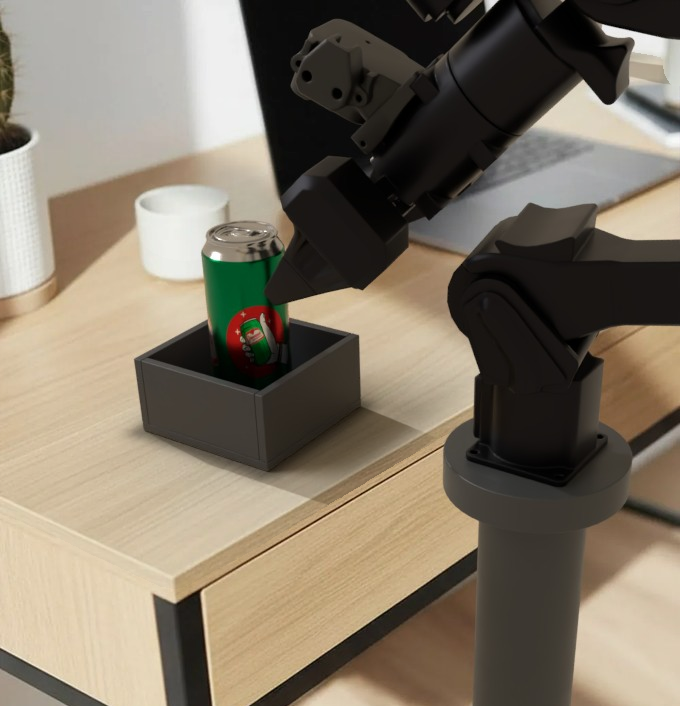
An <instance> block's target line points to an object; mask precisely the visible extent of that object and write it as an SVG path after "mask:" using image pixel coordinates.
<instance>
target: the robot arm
mask: <svg viewBox="0 0 680 706" xmlns="http://www.w3.org/2000/svg"><path fill="white" fill-rule="evenodd" d="M405 1H406V2H407V3H408V4H409V6H410V7H411V8H412V9H413V10H414V11H415V12H416V14H417V15H418V16H419V17H420V19H421V20H422V21H423V22H424V23H426V22H429V21H430V20H433V21H434V22H435V23H436V22H438V21H439V20H440V19H441V18H442V17H443V16H444V15H445V14H447V15H446V17H447V18H448V19H449V20H450V21H451V22H452V24H453V25H456V24H458V23H459V22H460V21H462V20H463V19H464V18H465V17H467V16H468V15H469V14H470V13H471V12H472V11H473V10H474V9H475V8H476V7H477V6H478V5H480V3H482V2H483V0H405ZM596 22H597V23H600V24H602V26H603V25H604V26H607V27H612V28H615V29H620V30H625V31H628V32H635V33H638V34H642V35H648V36H653V37H656V38H661V39H665V40H676V41H680V0H564V1H563V2H562V1H561V0H497V1H496V2H495V3H494V4H493V5H492V6H491V7H490V8H489V9H488V10H487V11H486V12H485V13H484V14H483V15H482V16H481V17H480V19H479V20H478V21H477V22H476V23H474V24H473V26H471V27H470V29H469V30H468V31H467V32H466V33H465V34H464V35H462V36H461V38H460V39H459V40H458V41H457V42H456V43H455V44H454V45H453V46H452V47H451V48H450V49H449V50H448V51H447V52H446V53H445V54H444V53H441V54H440V55H438V56H437V57H436V58H435V59H434V60H432V61H431V63H430V64H429V65H428V66H426V67H424V66H422V65H421V64H419V63H418V62H417V61H414V60H413V59H411V58H409V57H408V55H407V54H406V53H405V52H403V51H401V50H400V49H398V48H397V47H394V46H393V45H392V44H389V43H388V42H387V41H385V40H383V39H381V38H380V37H377V36H375V35H374V34H372V33H371V32H369V31H367V30H365V29H363V27H362V28H361V27H360V26H358V25H356V24H355V23H353V22H350V21H348V20H345V19H341V18H334V19H331V20H329V21H327V22H325V23H323V24H321V25H319V26H317V27H315V28H312V29H311V30H310V32H309V34H308V37H307V39H305V41H304V44H303V46H302V48H301V49H300V51H299V52H298V53H296V54H294V55H293V56H292V57H290V61H289V62H290V63H289V64H290V68H291V69H292V71H293V72H294V74H293V77H292V80H291V83H290V89H291V90H292V92H293V93H294V94H295V95H296V96H298V97H300V98H302V99H303V100H306V101H313V102H314V103H316V104H317V105H319V106H321V107H323V108H325V109H326V110H328V111H329V112H331V113H335V114H336V115H338V116H339V117H341V118H343V119H345V120H347V121H349V122H351V123H353V124H356V125H359V126H360V127H359V128H357V130H356V131H355V132H354V133H353V134H352V135H351V136H350V139H351V140H352V141H353V142H354V143H355V144H356V145H357V147H358V148H359V149H360V150H361V151H362V152H363V153H364V154H365V155H370V156H372V157H371V158H370V159H369V160H370V161H369V162H370V163H371V166H372V171H371V173H370V174H369V175H367V173H365V171H364V170H363V169H362V168H361V167H360V166H359V164H358V163H357V162H356V161H355V159H353V157H345V156H334V155H327V156H326V157H325V158H323V159H322V160H321V161H319V162H318V163H316V164H314V165H313V166H311V168H309V169H307V170H306V171H305V172H304V173H302V174H301V175H300V176H299V177H298V178H297V179H296V180H295V181H294V182H293V183H292V185H290V187H288V188H287V190H286V191H285V192H284V193H283V194H282V195H281V196H280V197H279V200H280V206H281V209H282V211H283V212H284V213H285V215H286V217H287V218H288V220H289V221H290V222H291V224H292V225H293V234H292V237H291V239H290V241H289V243H288V245H287V247H286V248H285V253H284V254H283V256H282V258H281V260H280V262H279V263H278V265H277V267H276V269H275V271H274V272H273V274H272V276H271V278H270V280H269V282H268V283H267V285H266V287H265V289H264V291H263V292H264V295H265V296H266V297H267V298H268V299H269V301H270V302H271V303H272V304H273V305H275V306H278V305H282V304H286V303H288V304H289V303H292V302H296V301H300V300H304V299H308V298H312V297H315V296H320V295H324V294H328V293H332V292H337V291H340V290H341V291H342V290H346V289H351V288H352V289H354V290H359V291H364V290H365V289H366V288H367V287H368V286H369V285H371V284H372V283H373V282H374V281H375V280H376V279H378V277H379V276H380V275H382V274H383V273H384V272H385V271H386V270H387V269H388V268H389V267H390V266H391V265H392V264H393V263H394V262H396V260H397V259H398V258H399V257H401V255H403V253H404V252H405V251H406V250H407V249H409V247H410V246H409V245H410V223H413V222H416V221H419V220H421V219H424V218H426V219H427V221H428V222H430V221H431V220H432V219H433V218H434V217H435V216H436V215H438V213H440V212H441V211H443V210H444V209H445V207H447V206H448V205H449V204H450V203H451V202H452V201H455V200H457V199H458V198H460V197H461V195H462V194H463V193H465V191H466V190H468V189H469V187H471V186H472V185H473V184H474V183H475V182H476V181H477V180H478V179H479V178H480V177H481V176H482V175H483V174H484V173H485V172H486V171H487V170H488V168H489V167H490V166H492V164H493V163H495V162H496V161H497V160H498V159H499V158H500V157H501V156H502V155H503V154H504V153H505V152H506V151H507V150H508V149H509V148H510V147H511V146H512V145H513V144H515V142H517V140H519V139H520V138H521V137H522V136H523V135H525V133H526V132H528V131H529V129H531V128H532V127H533V126H535V124H536V123H538V122H539V120H541V119H542V118H543V117H544V116H545V115H546V114H547V113H548V112H550V110H551V109H553V108H554V107H555V106H556V105H557V104H558V103H559V102H560V101H562V100H563V99H564V97H566V96H567V95H568V94H569V93H570V92H571V91H572V90H574V89H575V88H576V87H577V86H578V85H579V84H580V83H581V82H582V81H584V83H585V84H586V85H587V86H588V87H589V88H590V90H591V91H592V92H593V93H594V94H595V96H596V97H597V98H598V99H599V100H600V102H601V103H602V104H603V105H606V106H611V105H613V104H615V103H616V101H617V100H618V99H619V98H620V97H621V96H622V94H623V93H624V92H625V91H626V90H627V89H628V87H629V86H630V59H631V54H632V52H633V49H634V47H635V44H636V42H635V39H634V38H633V37H631V36H628V37H627V36H626V37H617V36H612V35H608V34H606V32H605V31H604V30H603V29H601V28H600V27H599V25H598V24H597V23H596ZM598 209H599V206H598V204H596V203H592V202H591V203H581V204H576V205H571V206H566V207H558V208H554V207H545V206H542V205H540V204H536V203H534V202H527V204H526V205H525V206H524V207H523V208H522V210H521V211H520V212H519V213H518V214H517V215H512V216H508V217H506V218H504V219H503V220H500V221H498V223H496V224H495V225H494V226H493V227H492V228H491V230H489V231H488V233H487V234H486V235H485V236H484V237H483V238H482V239H481V241H480V242H479V243H477V245H476V246H475V247H474V249H472V251H471V252H470V253H469V254H468V255H467V256H466V257H465V258H464V260H463V261H462V262H461V263H460V265H459V266H457V268H456V269H455V270H454V271H453V273H452V275H451V277H450V280H449V283H448V285H447V295H446V296H447V298H446V304H447V308H448V311H449V314H450V315H449V316H450V318H451V320H452V321H453V322H454V325H455V326H456V328H457V329H458V331H459V332H460V333H462V335H464V336H465V338H467V339H468V341H469V342H468V343H469V345H470V348H471V351H472V354H473V357H474V360H475V363H476V366H477V369H478V371H479V373H478V374H476V375H475V376H474V378H473V382H474V383H473V413H472V418H473V435H474V437H475V438H478V439H479V440H478V441H477V442H475V443H474V444H473V445H472V446H471V447H470V448H468V449H467V450H466V459H467V460H468V461H470V462H473V463H477V464H480V465H483V466H487V467H490V468H494V469H497V470H500V471H504V472H507V473H510V474H514V475H517V476H520V477H524V478H527V479H531V480H534V481H537V482H541V483H544V484H547V485H551V486H554V487H564V486H566V485H567V484H568V483H569V482H570V481H571V480H572V479H573V478H574V477H575V476H576V475H577V474H578V473H579V472H580V471H581V470H582V469H583V468H584V467H585V466H586V465H587V464H588V463H589V462H590V461H591V460H592V459H593V458H594V457H595V456H596V455H597V454H598V453H599V452H600V451H601V450H602V449H603V448H604V447H605V446H606V445H607V443H608V436H607V435H606V434H603V433H599V432H598V423H599V421H600V413H601V412H600V411H601V401H602V400H601V399H602V389H603V378H604V367H605V359H604V358H602V357H598V356H594V355H592V353H591V352H590V351H589V350H590V348H591V346H592V344H593V343H594V340H595V339H596V338H598V336H599V334H600V332H602V331H605V330H608V329H610V328H611V329H612V328H616V327H623V326H633V327H634V326H635V327H636V326H638V327H639V326H641V327H642V326H643V327H644V326H645V327H680V239H629V238H624V237H621V236H619V235H616V234H614V233H611V232H608V231H605V230H604V229H600V228H597V227H596V223H597V217H598Z"/></svg>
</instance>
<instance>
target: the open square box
mask: <svg viewBox="0 0 680 706" xmlns="http://www.w3.org/2000/svg"><path fill="white" fill-rule="evenodd" d="M289 326H290V342H291V358H292V371H291V372H290V373H288V374H286V375H285V376H283V377H282V378H280V379H279V380H277V381H275V382H274V383H272V384H271V385H269V386H267V387H266V388H264V389H263V390H261V391H259V390H256V389H252V388H249V387H245V386H242V385H239V384H235V383H232V382H228V381H225V380H222V379H218V378H215V377H214V376H213V366H212V356H211V346H210V336H209V326H208V318H207V319H205V320H203V321H201V322H199V323H197V324H196V325H193V326H192V327H190V328H188V329H187V330H184V331H183V332H181V333H179V334H176V336H173V337H172V338H170V339H168V340H166V341H164V342H162V343H161V344H159V345H157V346H154V347H152V348H151V349H149V350H148V351H146V352H144V353H141V354H140V355H137V356H136V357H134V358H133V362H134V363H133V364H134V370H135V377H136V385H137V392H138V399H139V407H140V413H141V422H142V428H143V431H145V432H148V433H151V434H154V435H157V436H160V437H163V438H167V439H169V440H173V441H175V442H178V443H181V444H184V445H187V446H190V447H192V448H196V449H199V450H202V451H205V452H208V453H211V454H213V455H217V456H220V457H223V458H226V459H228V460H231V461H235V462H238V463H240V464H244V465H247V466H250V467H253V468H255V469H259V470H261V471H265V472H269V471H271V470H273V469H274V468H275V467H277V465H280V464H281V463H282V462H283V461H285V460H286V459H288V458H289V457H290V456H292V455H294V453H296V452H297V451H299V450H300V449H302V448H303V447H304V446H306V445H308V444H309V443H310V442H311V441H313V440H315V439H316V438H317V437H319V436H321V435H322V434H323V433H324V432H326V431H327V430H329V429H330V428H332V427H333V426H334V425H336V424H337V423H339V422H340V421H341V420H343V419H344V418H345V417H347V416H348V415H350V414H351V413H353V412H354V411H356V409H358V408H360V407H361V406H362V398H361V397H362V389H361V388H362V387H361V385H362V384H361V352H360V351H361V350H360V347H361V346H360V335H359V334H357V333H353V332H350V331H346V330H341V329H336V328H334V327H330V326H325V325H321V324H317V323H314V322H309V321H305V320H301V319H297V318H293V317H289Z"/></svg>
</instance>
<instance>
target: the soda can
mask: <svg viewBox="0 0 680 706" xmlns="http://www.w3.org/2000/svg"><path fill="white" fill-rule="evenodd" d="M278 233H279V231H278V229H277V227H276V226H275V225H273V224H271V223H270V222H266V221H260V220H252V219H251V220H250V219H248V220H243V219H242V220H232V221H228V222H223V223H220V224H217V225H214V226H212V227H210V228H209V229H208V230H207V231H206V233H205V239H206V240H205V243H204V244H203V246H202V248H201V251H200V254H201V255H200V256H201V257H200V258H201V265H202V266H201V267H202V274H203V275H202V276H203V285H204V295H205V305H206V314H207V319H208V326H209V336H210V346H211V356H212V366H213V376H214V377H215V378H218V379H222V380H225V381H228V382H232V383H235V384H239V385H242V386H245V387H249V388H252V389H256V390H259V391H261V390H263V389H264V388H266V387H267V386H269V385H271V384H272V383H274V382H275V381H277V380H279V379H280V378H282V377H283V376H285V375H286V374H288V373H290V372H291V371H292V358H291V342H290V326H289V318H290V313H289V312H290V311H289V303H286V304H282V305H278V306H275V305H273V304H272V303H271V302H270V301H269V299H268V298H267V297H266V296H265V295H264V292H263V291H264V289H265V287H266V285H267V283H268V282H269V280H270V278H271V276H272V274H273V272H274V271H275V269H276V267H277V265H278V263H279V262H280V260H281V258H282V256H283V254H284V253H285V251H286V248H285V244H284V243H283V241H282V240H281V239H280V237H279V236H278Z"/></svg>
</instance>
